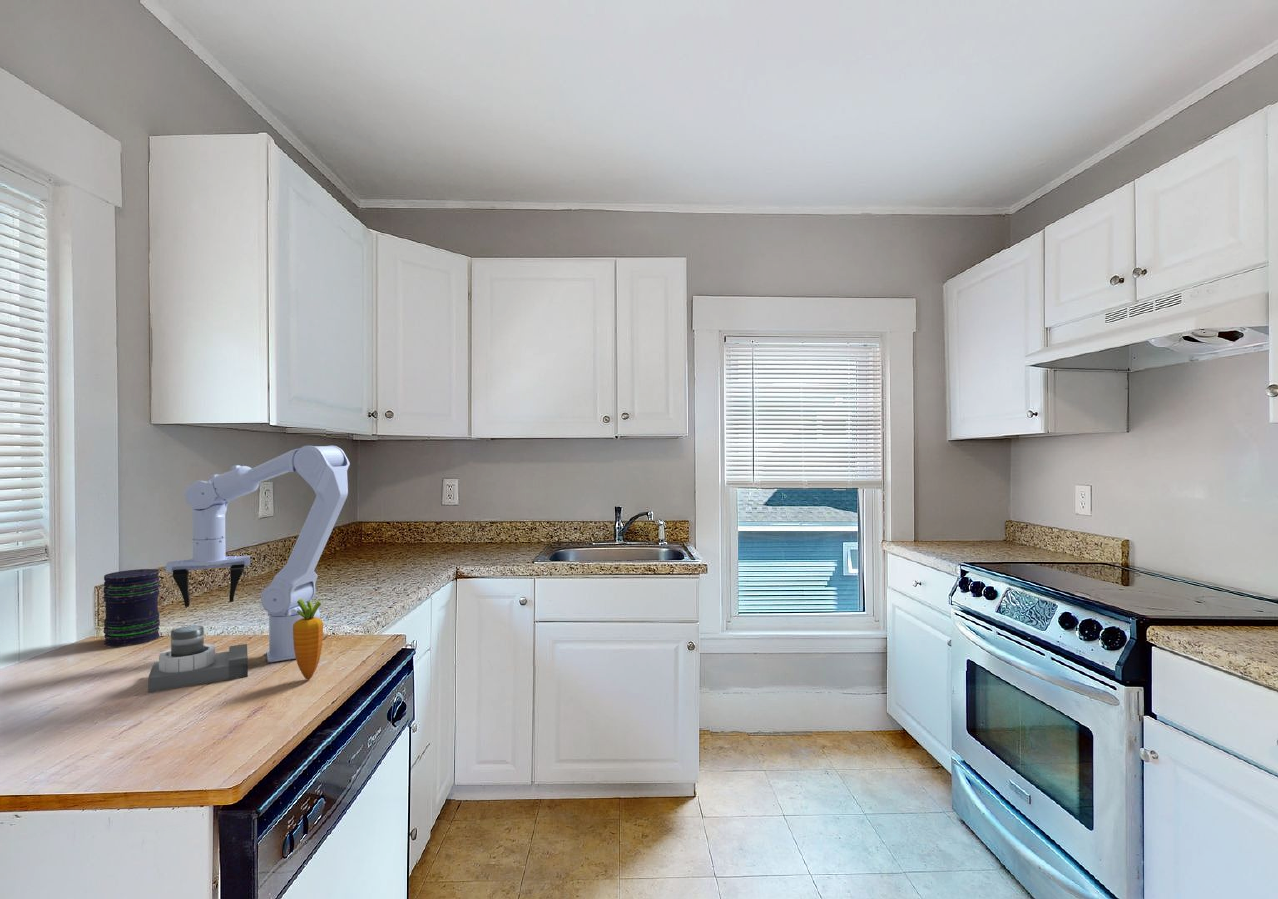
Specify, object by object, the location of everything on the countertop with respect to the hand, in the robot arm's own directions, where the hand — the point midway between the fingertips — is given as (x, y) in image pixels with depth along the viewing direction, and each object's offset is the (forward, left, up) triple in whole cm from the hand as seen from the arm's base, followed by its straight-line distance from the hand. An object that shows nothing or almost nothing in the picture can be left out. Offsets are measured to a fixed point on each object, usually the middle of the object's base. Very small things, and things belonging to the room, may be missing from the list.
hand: (209, 603), depth 135 cm
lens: (+3, +15, -8) cm, 17 cm away
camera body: (+1, +15, -10) cm, 18 cm away
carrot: (-16, +28, -11) cm, 34 cm away
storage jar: (+15, -20, -11) cm, 27 cm away
